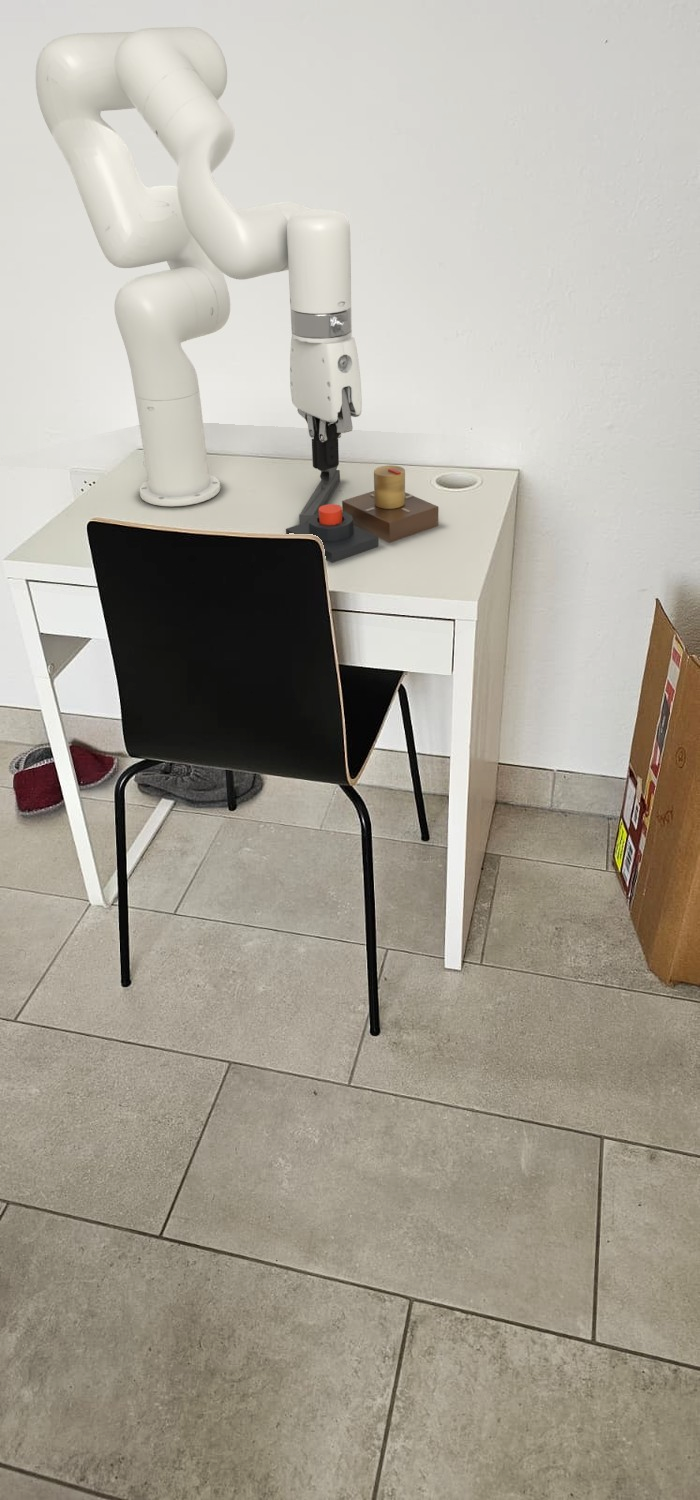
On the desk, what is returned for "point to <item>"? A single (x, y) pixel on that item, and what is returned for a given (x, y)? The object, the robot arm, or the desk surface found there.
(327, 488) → the dark grey long bar
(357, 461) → the desk surface
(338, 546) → the switch box
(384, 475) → the dimmer knob
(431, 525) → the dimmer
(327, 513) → the power button
